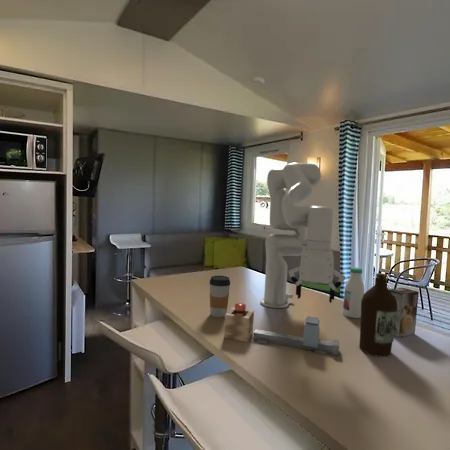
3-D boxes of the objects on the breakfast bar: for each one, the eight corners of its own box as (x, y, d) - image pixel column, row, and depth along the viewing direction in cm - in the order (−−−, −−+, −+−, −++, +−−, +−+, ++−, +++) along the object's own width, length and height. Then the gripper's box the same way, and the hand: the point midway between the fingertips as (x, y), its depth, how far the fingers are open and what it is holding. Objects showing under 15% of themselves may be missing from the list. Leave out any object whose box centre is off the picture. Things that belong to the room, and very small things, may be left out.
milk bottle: (362, 314, 145) (366, 268, 143) (361, 320, 138) (365, 271, 136) (343, 311, 148) (347, 265, 146) (341, 316, 141) (345, 268, 139)
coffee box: (399, 327, 132) (403, 287, 130) (415, 334, 126) (419, 291, 124) (383, 331, 127) (387, 289, 126) (399, 338, 122) (403, 293, 120)
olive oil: (350, 343, 115) (356, 270, 113) (378, 341, 117) (384, 270, 115) (370, 358, 105) (378, 278, 102) (400, 356, 107) (408, 278, 105)
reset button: (240, 317, 119) (241, 302, 119) (246, 320, 116) (247, 305, 116) (232, 319, 117) (232, 303, 117) (238, 322, 114) (239, 307, 114)
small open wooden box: (224, 337, 115) (225, 314, 114) (230, 329, 122) (232, 307, 122) (247, 341, 112) (248, 318, 112) (252, 332, 120) (254, 310, 119)
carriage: (302, 346, 107) (304, 322, 107) (304, 337, 114) (306, 315, 113) (317, 348, 106) (319, 324, 105) (318, 339, 113) (320, 317, 112)
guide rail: (252, 341, 113) (252, 332, 113) (256, 334, 119) (256, 325, 118) (338, 357, 105) (339, 346, 104) (338, 348, 110) (338, 339, 110)
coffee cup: (226, 319, 131) (228, 281, 130) (205, 317, 133) (207, 279, 132) (230, 312, 140) (232, 276, 138) (210, 310, 141) (212, 274, 140)
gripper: (288, 244, 106) (285, 299, 107) (347, 249, 101) (343, 306, 102) (291, 242, 113) (288, 293, 115) (346, 246, 108) (343, 299, 109)
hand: (314, 299), depth 108 cm, fingers open, 9 cm apart
